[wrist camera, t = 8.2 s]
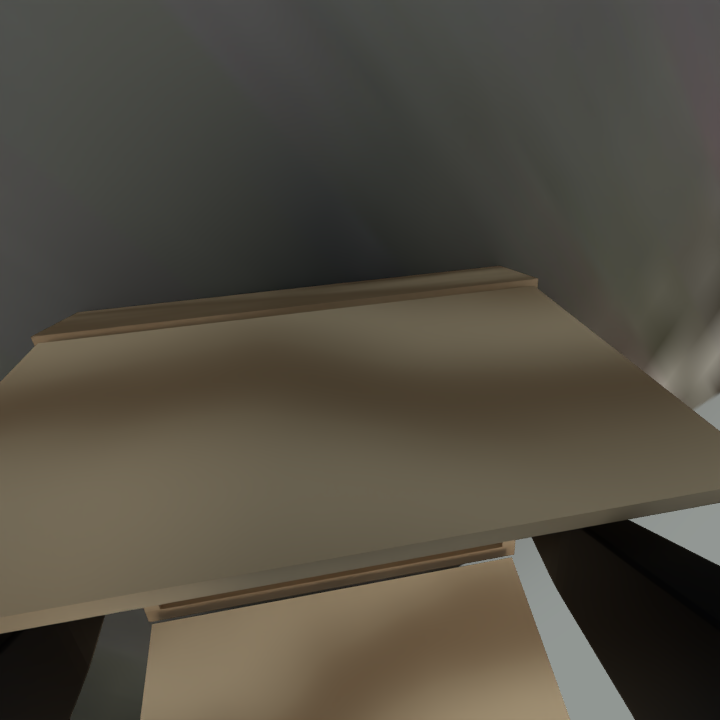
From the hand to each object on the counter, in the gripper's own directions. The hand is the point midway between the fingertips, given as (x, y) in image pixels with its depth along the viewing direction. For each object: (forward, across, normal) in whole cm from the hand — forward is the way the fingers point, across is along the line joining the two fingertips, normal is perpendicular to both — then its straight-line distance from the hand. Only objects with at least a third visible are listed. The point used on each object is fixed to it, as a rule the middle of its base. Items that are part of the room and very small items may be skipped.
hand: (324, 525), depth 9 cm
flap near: (+2, 0, -2) cm, 3 cm away
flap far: (+2, 0, +11) cm, 11 cm away
